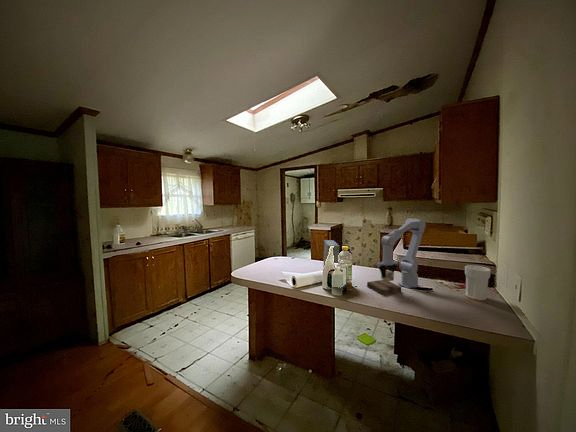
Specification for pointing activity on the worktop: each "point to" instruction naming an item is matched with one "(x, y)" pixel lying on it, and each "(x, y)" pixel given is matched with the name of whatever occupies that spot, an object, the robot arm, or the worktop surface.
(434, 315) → the worktop surface
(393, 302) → the worktop surface
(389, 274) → the birch cube
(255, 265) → the worktop surface
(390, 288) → the walnut base
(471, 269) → the cup
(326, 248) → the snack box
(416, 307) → the worktop surface
